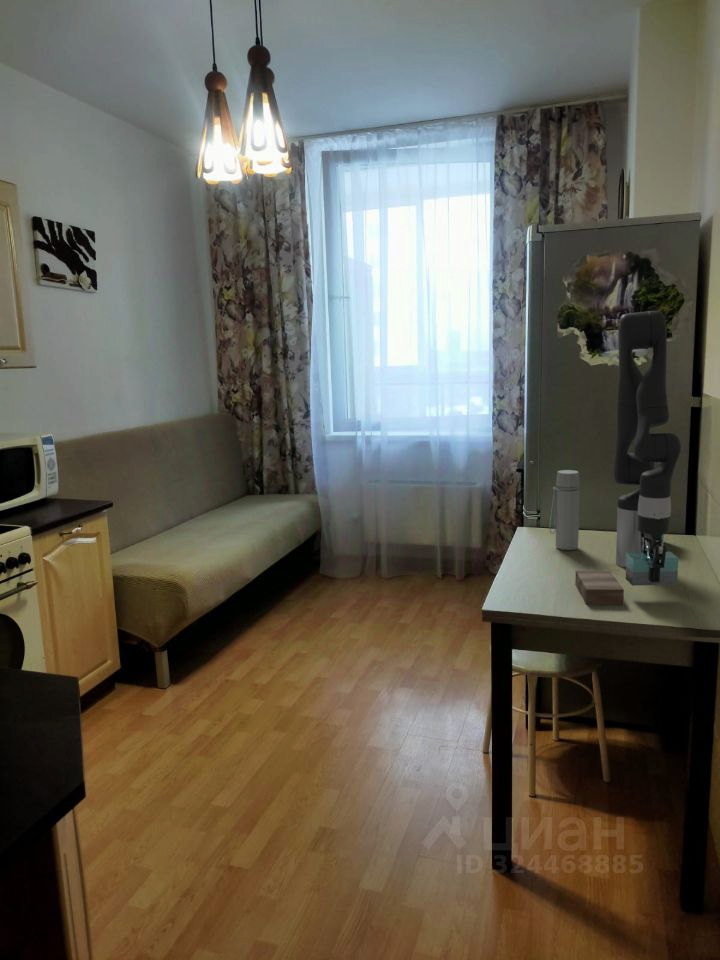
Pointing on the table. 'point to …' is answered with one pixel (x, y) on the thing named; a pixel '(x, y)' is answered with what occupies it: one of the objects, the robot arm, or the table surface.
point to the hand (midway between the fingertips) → (651, 577)
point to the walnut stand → (599, 588)
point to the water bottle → (566, 509)
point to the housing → (641, 569)
